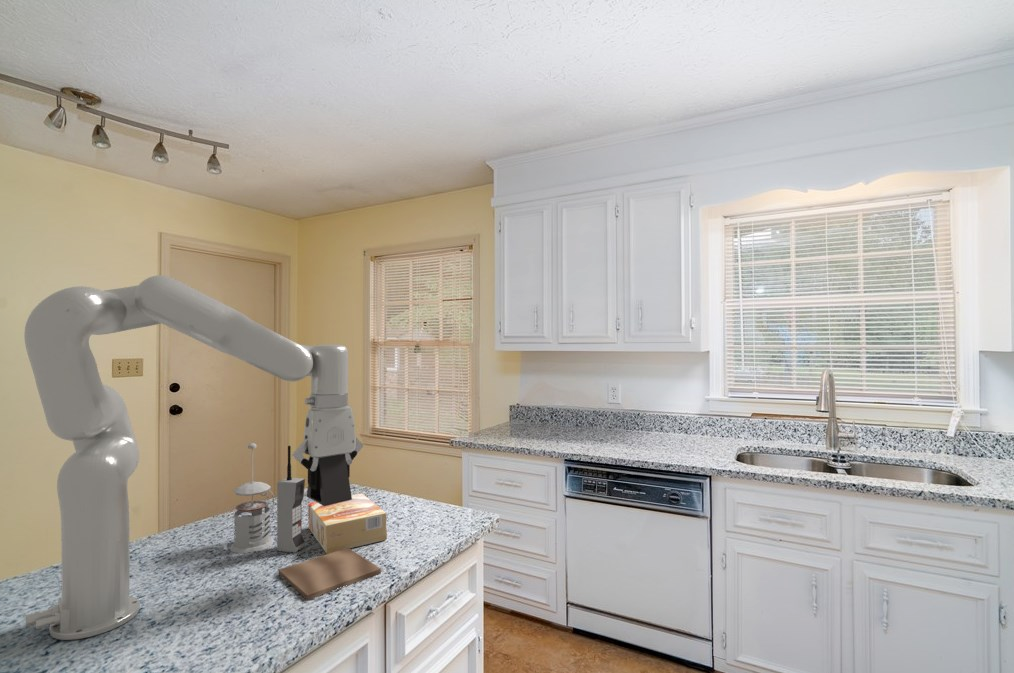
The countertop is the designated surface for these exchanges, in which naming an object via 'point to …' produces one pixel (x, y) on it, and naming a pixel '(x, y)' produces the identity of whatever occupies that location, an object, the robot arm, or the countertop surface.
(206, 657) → the countertop surface
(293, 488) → the vintage mobile phone
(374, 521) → the coffeecake box
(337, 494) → the phone stand
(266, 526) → the french press
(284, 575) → the walnut board
